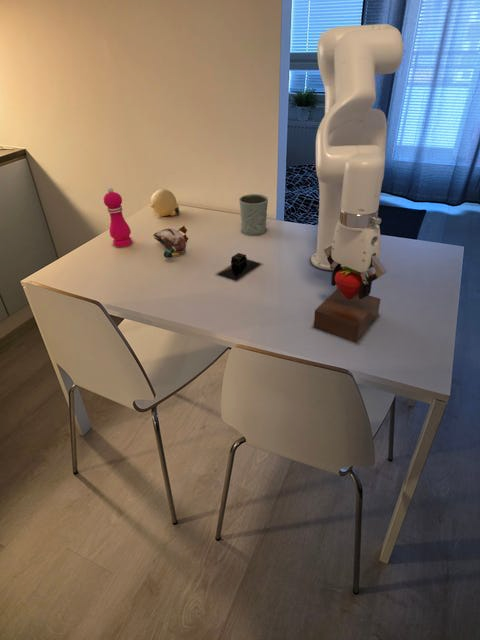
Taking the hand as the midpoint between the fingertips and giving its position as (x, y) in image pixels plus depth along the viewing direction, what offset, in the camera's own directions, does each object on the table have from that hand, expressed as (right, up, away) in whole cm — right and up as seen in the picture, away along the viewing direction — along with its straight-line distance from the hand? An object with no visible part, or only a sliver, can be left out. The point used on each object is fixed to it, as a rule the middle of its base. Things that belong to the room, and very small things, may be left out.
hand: (349, 289), depth 96 cm
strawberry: (0, -2, +2) cm, 3 cm away
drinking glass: (-20, +26, +55) cm, 64 cm away
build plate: (-26, +8, +31) cm, 41 cm away
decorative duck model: (-50, +15, +43) cm, 68 cm away
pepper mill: (-68, +20, +52) cm, 88 cm away
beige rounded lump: (-56, +36, +74) cm, 100 cm away
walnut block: (0, -8, +5) cm, 9 cm away
